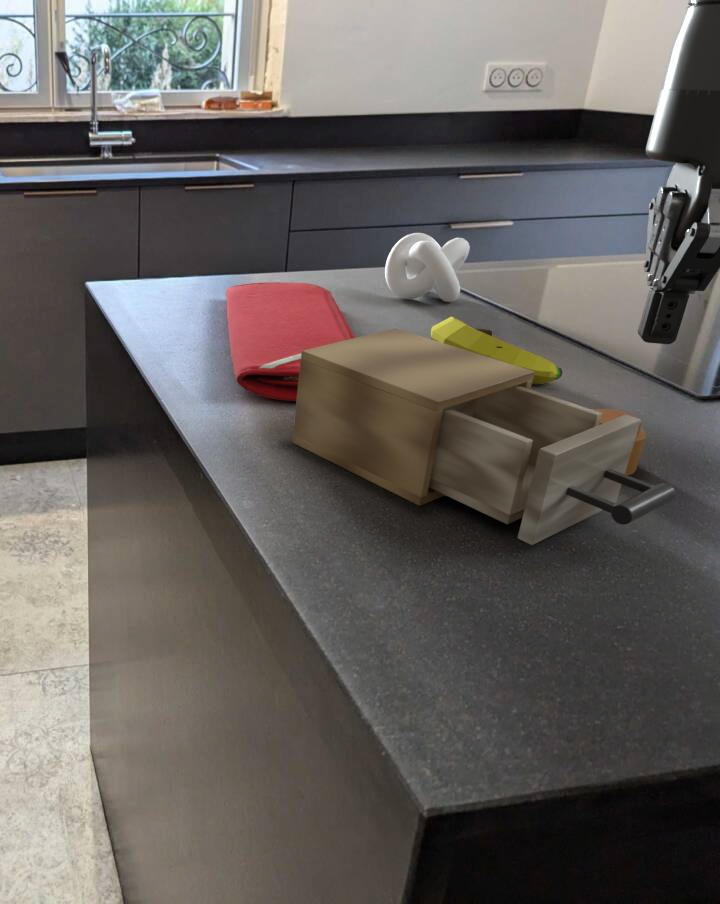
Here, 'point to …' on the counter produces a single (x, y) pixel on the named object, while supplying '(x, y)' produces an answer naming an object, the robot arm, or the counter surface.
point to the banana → (493, 348)
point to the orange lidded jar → (639, 440)
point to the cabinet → (390, 404)
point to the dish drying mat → (279, 333)
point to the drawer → (539, 462)
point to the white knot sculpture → (425, 266)
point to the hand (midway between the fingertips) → (654, 340)
